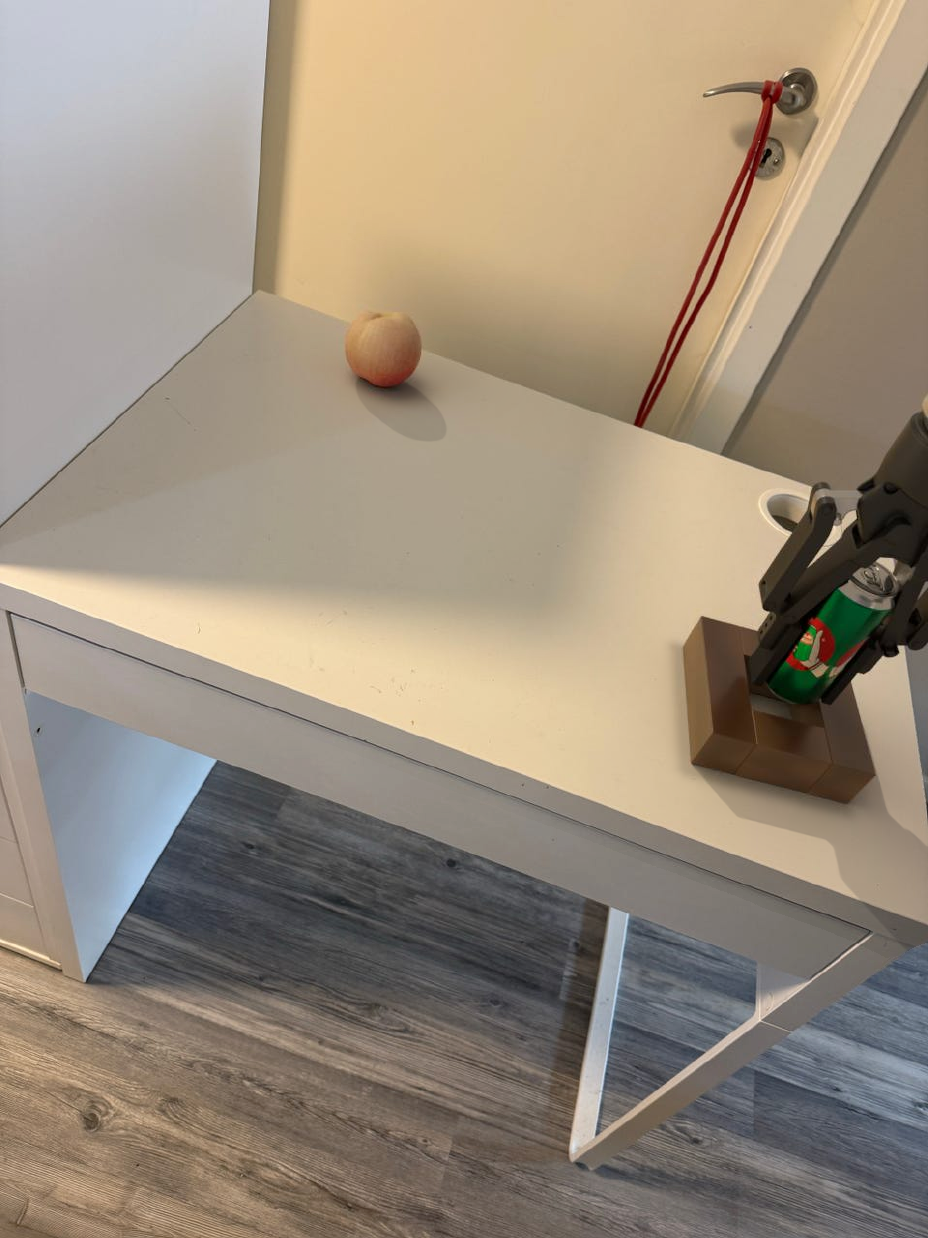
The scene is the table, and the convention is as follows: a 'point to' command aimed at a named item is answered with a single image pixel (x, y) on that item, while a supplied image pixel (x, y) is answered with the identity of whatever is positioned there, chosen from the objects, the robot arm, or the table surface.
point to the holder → (768, 722)
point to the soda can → (834, 635)
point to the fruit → (383, 347)
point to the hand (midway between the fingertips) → (789, 682)
